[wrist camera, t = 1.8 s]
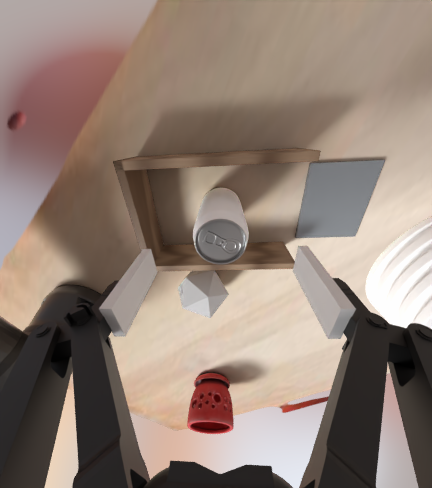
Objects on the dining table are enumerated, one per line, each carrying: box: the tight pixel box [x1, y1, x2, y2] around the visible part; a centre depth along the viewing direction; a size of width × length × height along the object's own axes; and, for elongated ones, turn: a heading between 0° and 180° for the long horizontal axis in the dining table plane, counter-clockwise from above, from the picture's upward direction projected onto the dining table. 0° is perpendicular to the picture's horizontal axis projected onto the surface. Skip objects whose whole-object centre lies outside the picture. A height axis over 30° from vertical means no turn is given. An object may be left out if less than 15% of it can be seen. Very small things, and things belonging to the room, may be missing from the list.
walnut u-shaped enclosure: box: [113, 148, 321, 271], centre depth 26 cm, size 23×16×6 cm
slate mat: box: [295, 160, 385, 238], centre depth 28 cm, size 10×12×1 cm
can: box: [193, 188, 249, 264], centre depth 24 cm, size 6×6×12 cm
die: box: [178, 270, 229, 318], centre depth 34 cm, size 8×9×10 cm
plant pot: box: [187, 373, 233, 434], centre depth 55 cm, size 13×13×12 cm
